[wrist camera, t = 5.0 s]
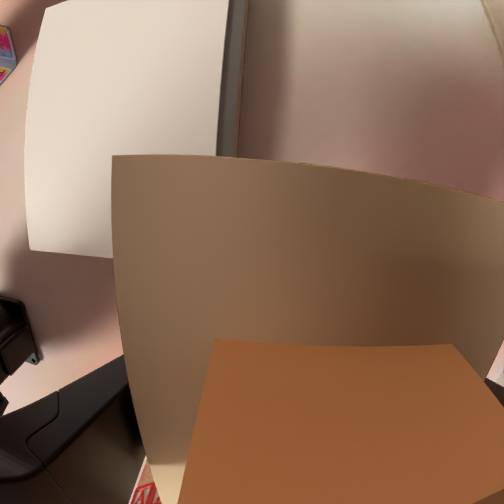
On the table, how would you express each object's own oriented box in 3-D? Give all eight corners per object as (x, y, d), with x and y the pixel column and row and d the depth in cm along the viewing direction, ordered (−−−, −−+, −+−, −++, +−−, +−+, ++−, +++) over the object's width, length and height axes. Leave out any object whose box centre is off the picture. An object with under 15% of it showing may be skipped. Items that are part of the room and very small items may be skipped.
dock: (54, 237, 19) (29, 249, 16) (68, 20, 14) (45, 8, 11) (231, 250, 19) (226, 268, 16) (250, -4, 14) (247, -27, 11)
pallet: (187, 434, 10) (167, 518, 7) (183, 154, 7) (111, 155, 4) (361, 440, 10) (382, 518, 7) (439, 185, 7) (540, 213, 4)
